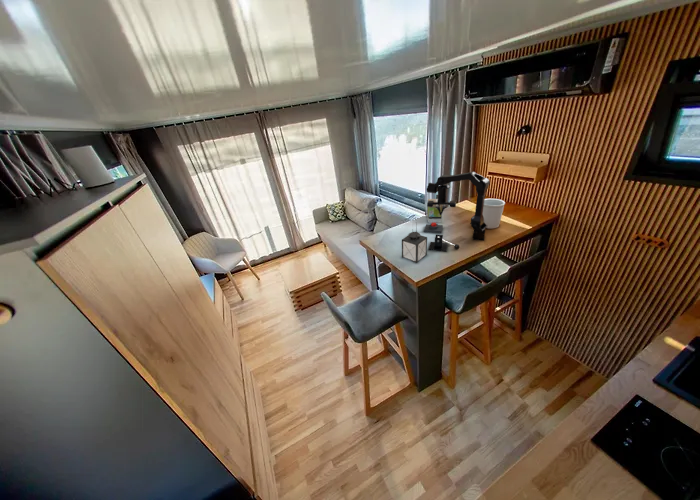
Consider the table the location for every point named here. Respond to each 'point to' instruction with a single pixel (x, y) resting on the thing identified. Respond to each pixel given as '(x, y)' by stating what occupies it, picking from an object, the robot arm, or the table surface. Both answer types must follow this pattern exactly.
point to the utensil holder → (493, 212)
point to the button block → (433, 228)
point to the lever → (450, 243)
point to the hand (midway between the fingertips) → (440, 215)
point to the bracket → (438, 244)
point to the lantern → (414, 246)
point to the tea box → (433, 213)
